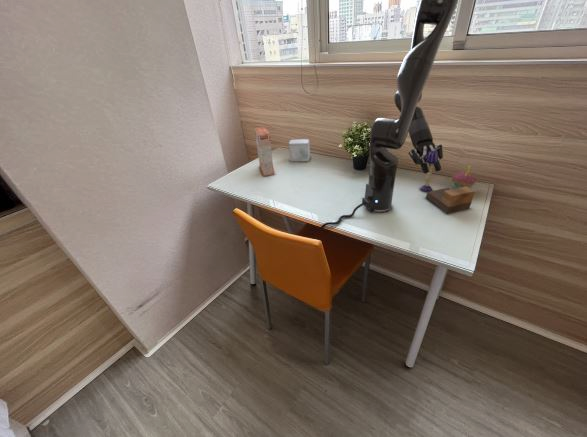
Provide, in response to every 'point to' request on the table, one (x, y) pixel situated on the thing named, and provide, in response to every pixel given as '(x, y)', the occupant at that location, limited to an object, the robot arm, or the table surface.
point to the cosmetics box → (299, 150)
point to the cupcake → (463, 179)
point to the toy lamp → (430, 169)
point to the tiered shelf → (443, 207)
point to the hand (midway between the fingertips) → (432, 171)
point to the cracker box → (264, 150)
